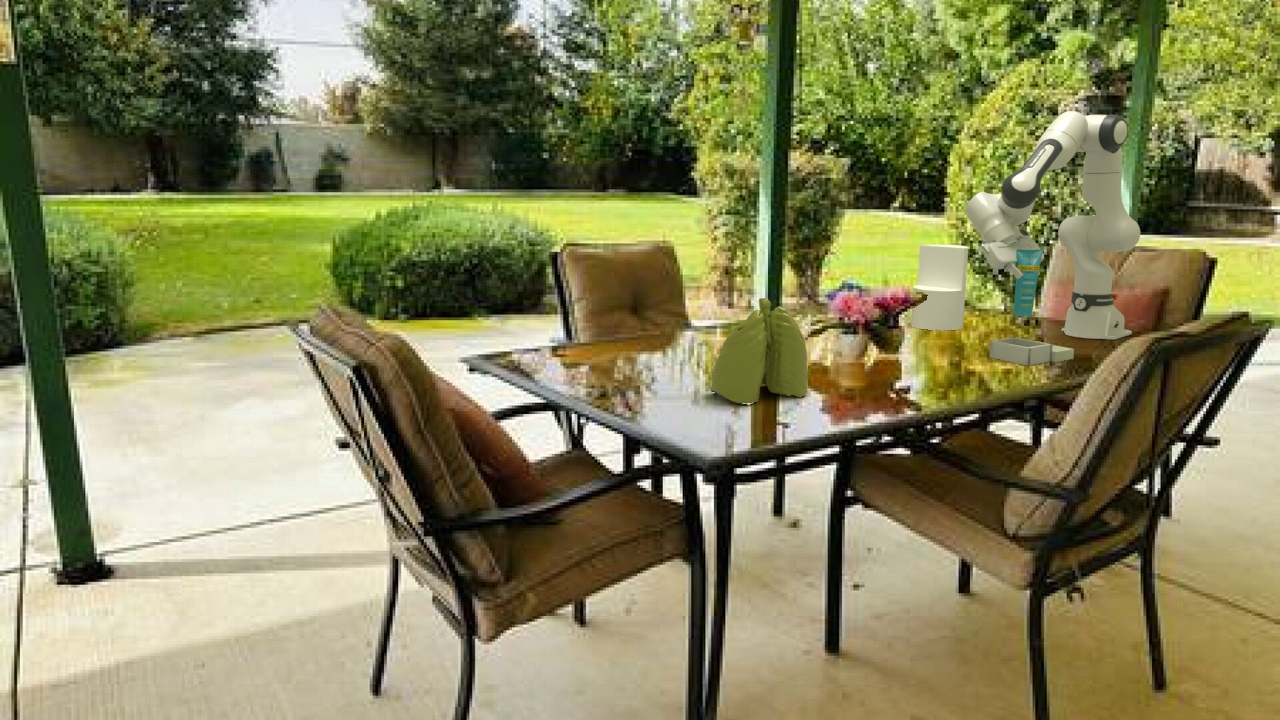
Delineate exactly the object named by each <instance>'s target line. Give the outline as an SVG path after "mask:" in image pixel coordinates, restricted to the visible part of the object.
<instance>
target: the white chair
mask: <svg viewBox="0 0 1280 720" xmlns="http://www.w3.org/2000/svg"><path fill="white" fill-rule="evenodd" d="M968 256H969V246H967V245H957V244H919V251H918V267H917V269H918V271H917V272H918V273H917V285H913V286H912V287H913V288H912V291H913V290H914V291H918V292H923V293H925V294H927V295H928V296H927V300H926V301H924V302H923V303H921V304H920V305H918V306H917V307H915V308H913V309H912V308H911V317H910V318H911V319H910V321H911V322H910V326H911V325H912V326H914V327H917V328H921V329H928V330H941V331H940V332H948V331H947V330H957V329H961V328H963V329H964V317H965V316H964V314H965V303H966V301H965V300H966V288H967V285H966V284H967V273H968V259H969V257H968ZM944 330H946V331H944ZM961 330H962V329H961ZM957 331H958V330H957Z"/></svg>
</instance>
